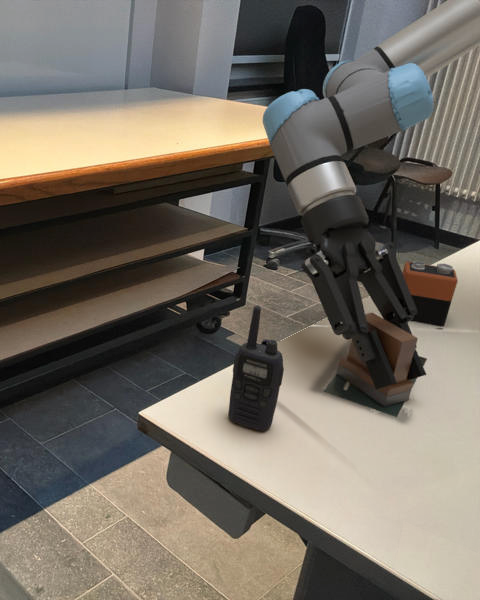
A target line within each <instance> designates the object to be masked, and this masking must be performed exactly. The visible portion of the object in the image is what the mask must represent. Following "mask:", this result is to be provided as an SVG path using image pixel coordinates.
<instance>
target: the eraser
mask: <svg viewBox="0 0 480 600" xmlns="http://www.w3.org/2000/svg"><path fill="white" fill-rule="evenodd" d="M365 315H366V320H367V324H368V331H367V333H368V332H370V331H374V330H376V333H377V335H378V338H379V340H380V342H381V345H382V347H383V350H384V352H385V355H386V357H387V359H388V362H389V364H390V367H391V369H392V372H393V374H394V376H395V379H396V381H397V383H396V384H393V385H389V386H386V387H383V388H380V389H376V388H375V386H374V383H373V381H372V378H371V376H370V373H369V371H368V368H367V366H366V363H365V362H362V361H361V360H360V358H359V355H358V353H357V350H356V348H355V345H354V343H353V340H352V339H350V345H349V349H348V353H347V354H346V355H342V356H340V357H339V358H338V364H337V369H336V373H337V374H338V375H339V376H341V377H342V378H344V379H345V380H346V381H348V382H349V383H351V384H352V385H354V386H355V387H357V388H358V389H359V390H361V391H362V392H364V393H365V394H367V395H368V396H369V397H371V398H372V399H374V400H375V401H377V402H378V403H379V404H381V405H382V406H384V407H386V406H389V405H393V404H396V403H399V402H403V401H405V402H406V401H408V400H409V399H410V396H411V393H412V390H413V387H414V385H413V382H412V381H410V380H409V379H407V375H408V372H409V368H410V364H411V361H412V357H413V354H414V350H415V349H416V348H415V347H416V346H417V344H418V340H419V338H418V337H417V336H415V335H414V334H412V335H411V334H410V333H408V332H406V331H404V330H403V329H401V328H399V327H397V326H395V325H394V324H392V323H390V322H388V321H386V320H385V319H383V317H382V316H380V315H378V314H375V313H374V312H368V313H365ZM336 373H335V374H336ZM412 386H413V387H412Z"/></svg>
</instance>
